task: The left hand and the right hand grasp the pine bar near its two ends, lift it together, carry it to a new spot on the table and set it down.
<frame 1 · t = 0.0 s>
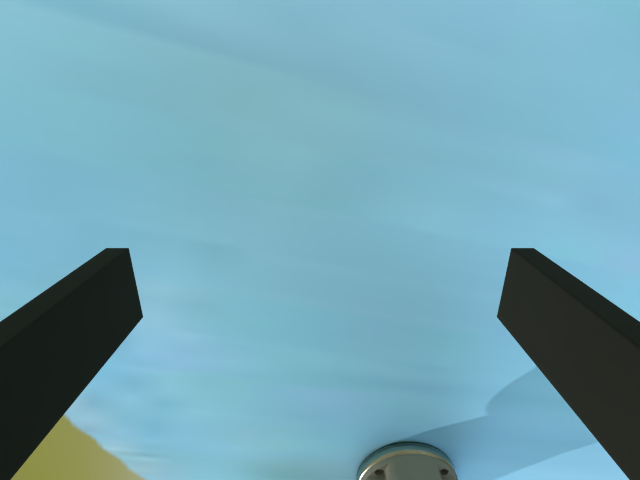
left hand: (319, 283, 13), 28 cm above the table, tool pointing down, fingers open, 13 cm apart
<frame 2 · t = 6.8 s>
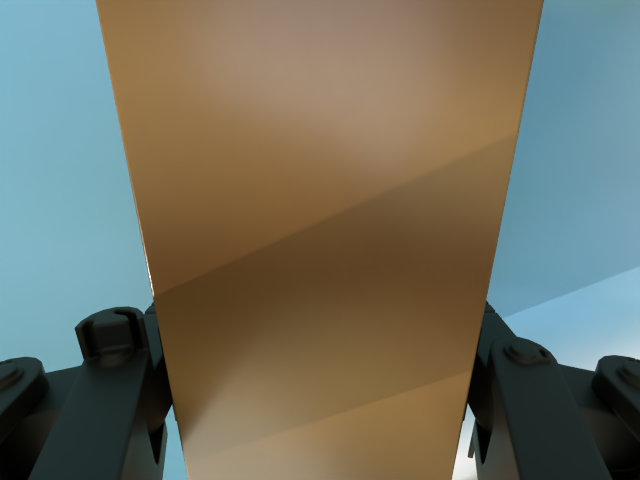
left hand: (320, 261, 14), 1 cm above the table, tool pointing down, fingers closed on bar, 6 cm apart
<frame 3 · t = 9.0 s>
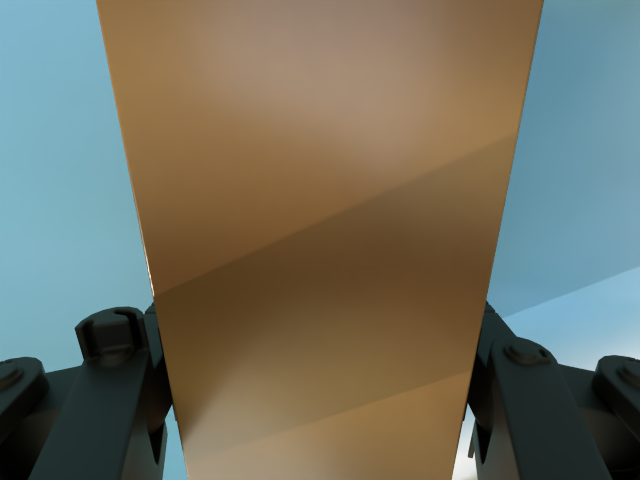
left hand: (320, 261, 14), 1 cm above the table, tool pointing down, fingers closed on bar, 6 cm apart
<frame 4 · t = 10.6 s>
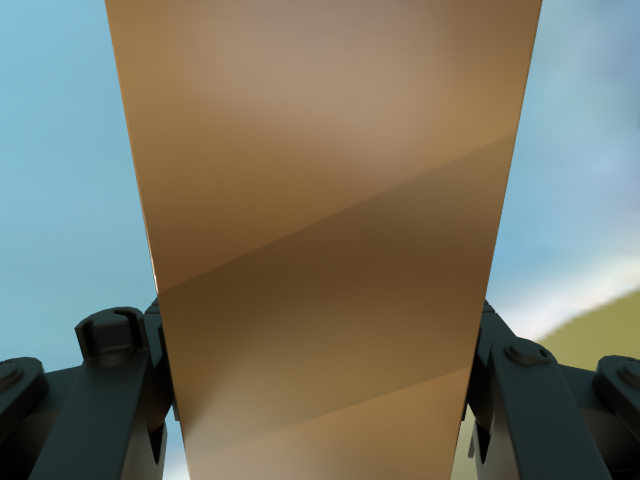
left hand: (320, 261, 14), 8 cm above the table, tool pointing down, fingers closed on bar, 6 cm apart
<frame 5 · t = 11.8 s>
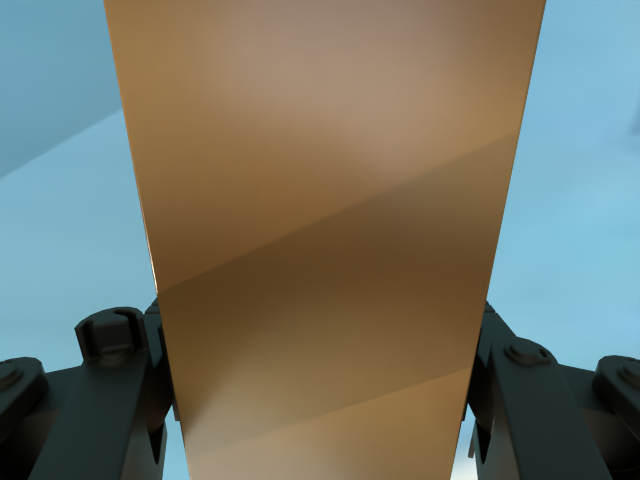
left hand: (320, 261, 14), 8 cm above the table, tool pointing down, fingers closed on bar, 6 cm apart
when the left hand's fingers open (2 cm above the table, at t = 14.3 s): bar drops 1 cm, on the table.
when the right hand's fingers open (5 cm above the table, at t = 14.5 s): bar stays where it is, on the table.
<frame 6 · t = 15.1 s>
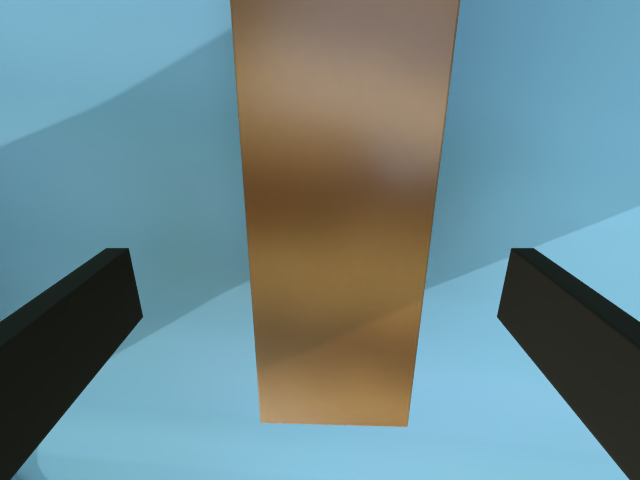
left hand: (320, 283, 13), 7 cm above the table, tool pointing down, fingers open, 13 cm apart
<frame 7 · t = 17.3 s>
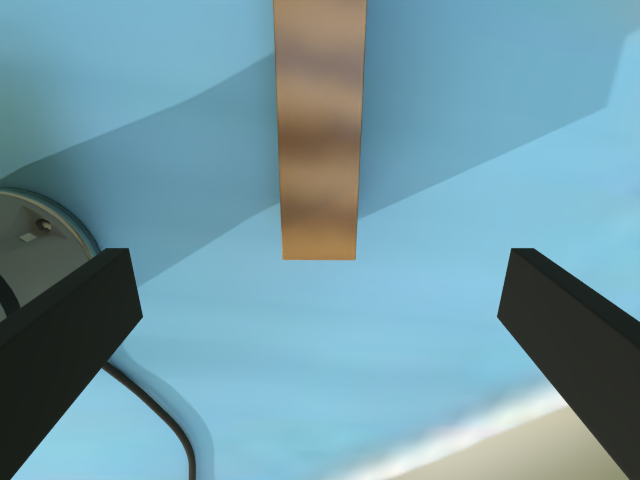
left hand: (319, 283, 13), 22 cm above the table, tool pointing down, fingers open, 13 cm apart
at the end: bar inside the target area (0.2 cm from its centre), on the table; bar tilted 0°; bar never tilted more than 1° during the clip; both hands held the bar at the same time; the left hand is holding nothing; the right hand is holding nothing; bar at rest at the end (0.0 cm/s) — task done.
